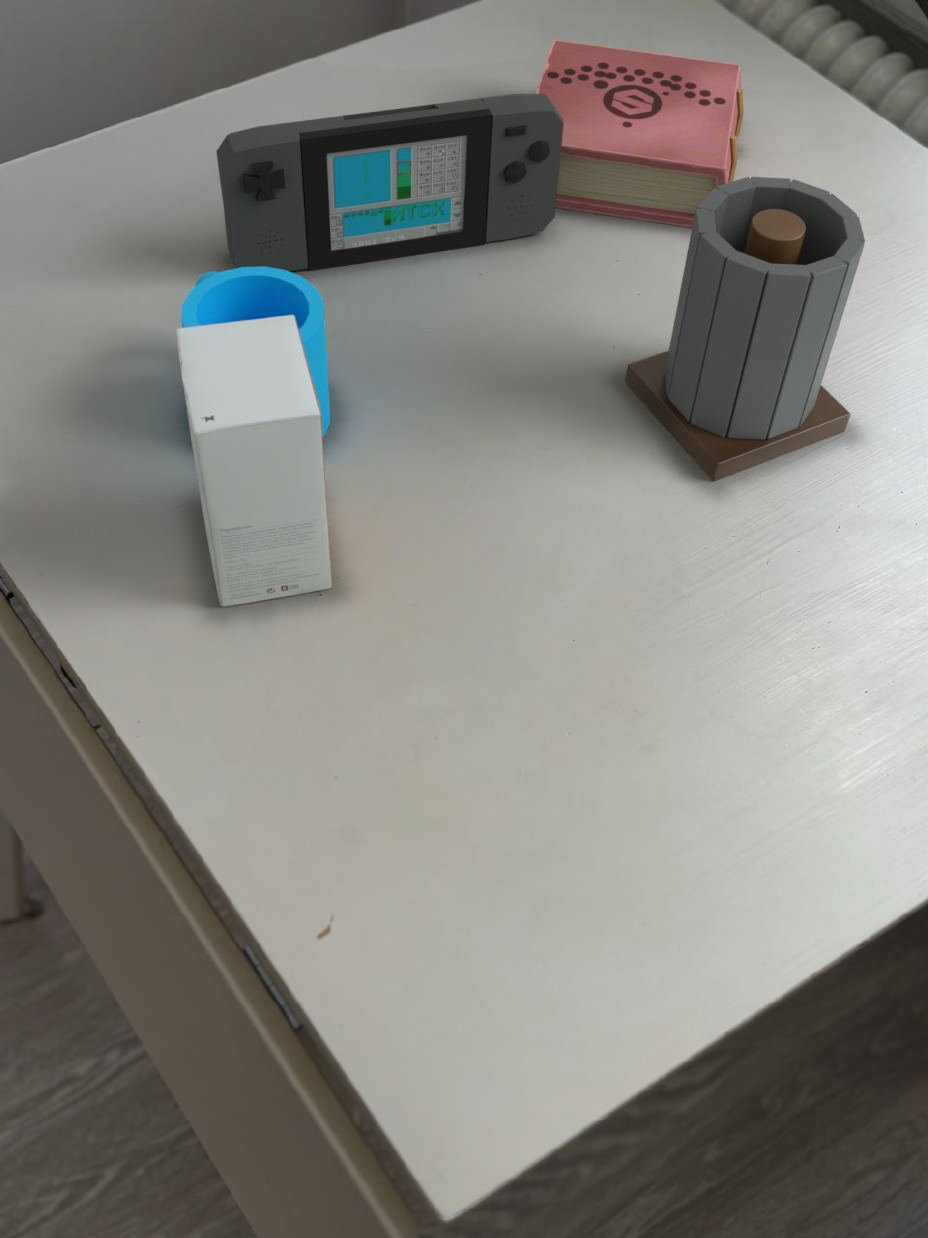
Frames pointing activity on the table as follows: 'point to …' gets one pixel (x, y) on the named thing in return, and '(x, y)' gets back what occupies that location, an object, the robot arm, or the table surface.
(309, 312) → the mug
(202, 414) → the small box
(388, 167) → the handheld gaming console
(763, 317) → the slatted grey tube
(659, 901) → the table surface
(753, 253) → the stand
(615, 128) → the book
